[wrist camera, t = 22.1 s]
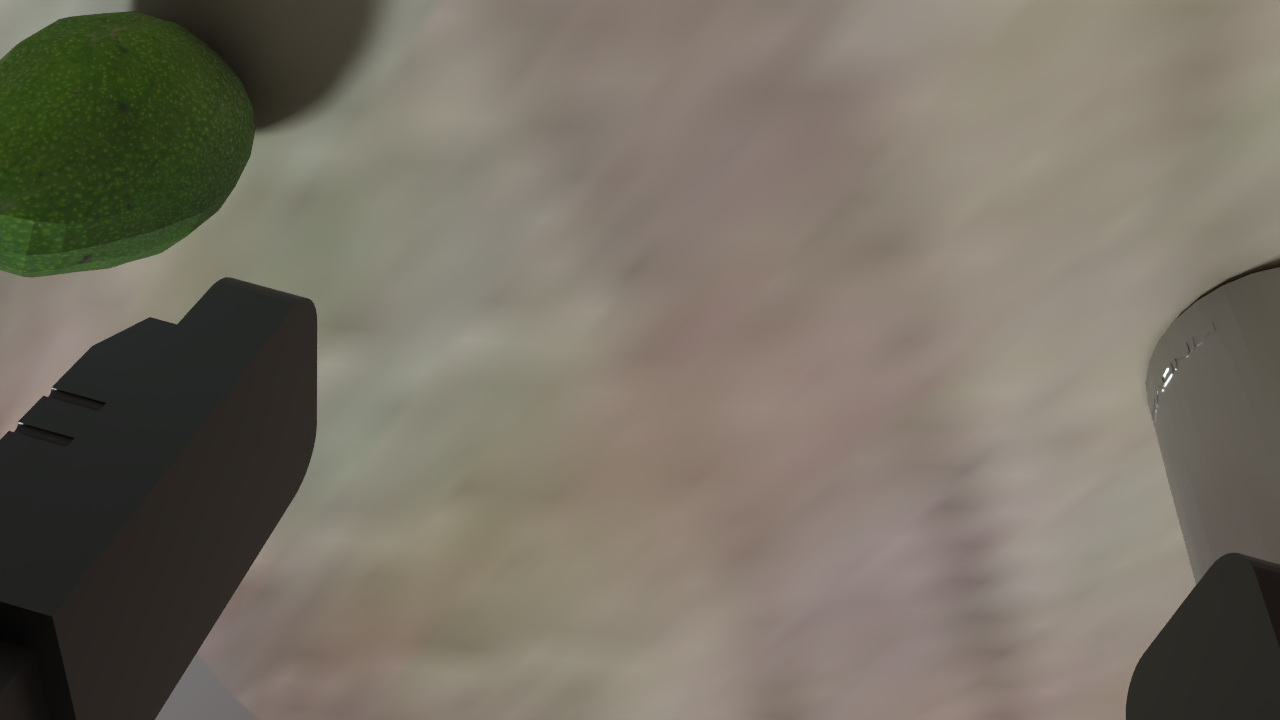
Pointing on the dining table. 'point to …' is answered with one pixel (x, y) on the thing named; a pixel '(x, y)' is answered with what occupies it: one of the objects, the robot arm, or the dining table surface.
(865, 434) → the dining table surface
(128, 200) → the avocado
